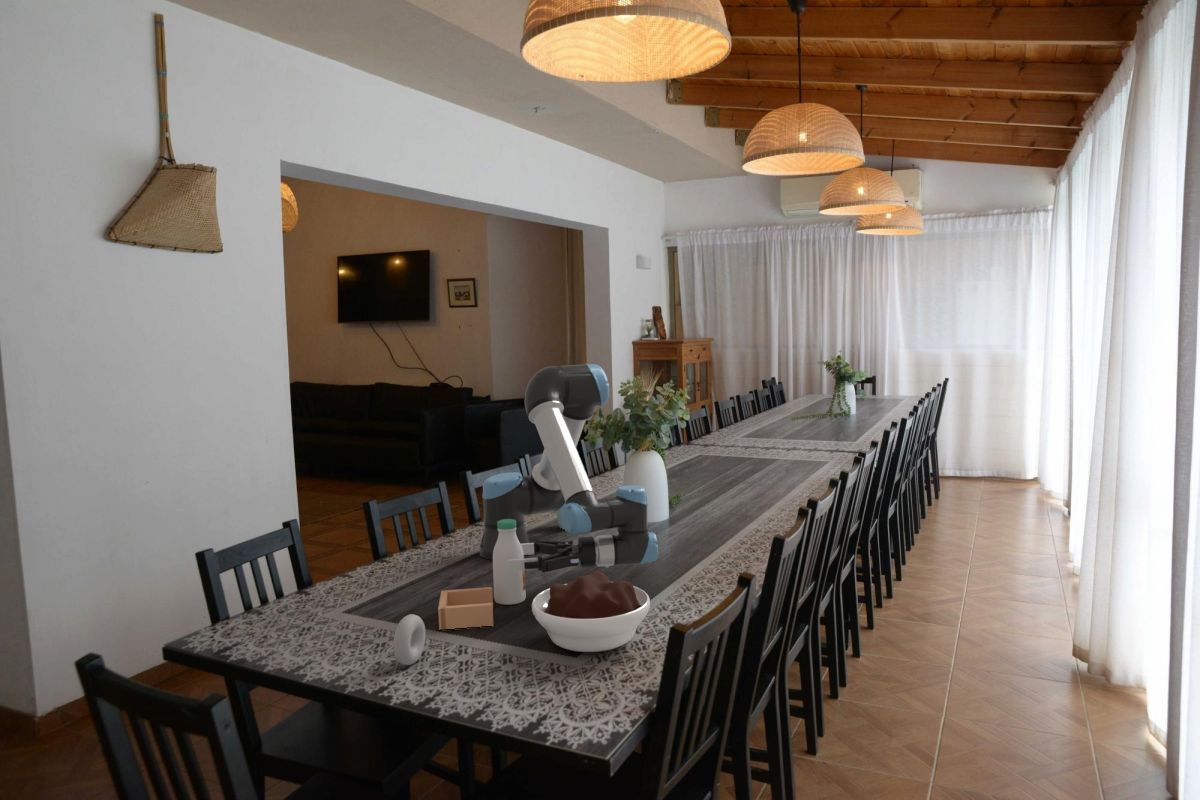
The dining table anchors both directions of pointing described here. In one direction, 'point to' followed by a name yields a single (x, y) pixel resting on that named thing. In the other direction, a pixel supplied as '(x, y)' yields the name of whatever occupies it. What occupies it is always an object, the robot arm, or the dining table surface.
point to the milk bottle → (507, 565)
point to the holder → (466, 608)
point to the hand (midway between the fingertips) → (508, 557)
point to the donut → (409, 639)
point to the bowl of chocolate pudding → (591, 612)
